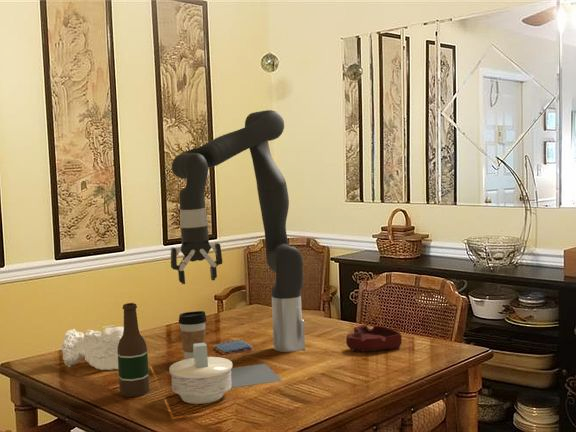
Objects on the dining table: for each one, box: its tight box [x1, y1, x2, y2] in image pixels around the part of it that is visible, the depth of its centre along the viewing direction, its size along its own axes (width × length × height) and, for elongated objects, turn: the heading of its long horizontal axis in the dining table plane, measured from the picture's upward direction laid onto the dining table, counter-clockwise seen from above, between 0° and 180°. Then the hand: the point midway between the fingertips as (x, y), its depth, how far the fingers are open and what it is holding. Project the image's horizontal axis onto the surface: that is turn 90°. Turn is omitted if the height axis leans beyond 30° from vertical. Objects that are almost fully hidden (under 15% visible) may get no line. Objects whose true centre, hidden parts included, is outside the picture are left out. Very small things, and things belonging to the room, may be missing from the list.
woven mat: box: [212, 339, 255, 355], centre depth 227 cm, size 10×11×2 cm
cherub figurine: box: [61, 326, 124, 371], centre depth 216 cm, size 13×12×20 cm
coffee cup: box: [178, 310, 207, 360], centre depth 214 cm, size 8×8×15 cm
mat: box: [230, 363, 283, 389], centre depth 197 cm, size 17×17×1 cm
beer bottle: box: [117, 302, 150, 398], centre depth 187 cm, size 8×8×24 cm
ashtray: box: [345, 324, 403, 353], centre depth 223 cm, size 18×16×5 cm
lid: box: [168, 342, 234, 379], centre depth 180 cm, size 16×16×6 cm
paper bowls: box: [171, 370, 232, 405], centre depth 181 cm, size 15×15×8 cm
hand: (198, 281), depth 199 cm, fingers open, 8 cm apart
